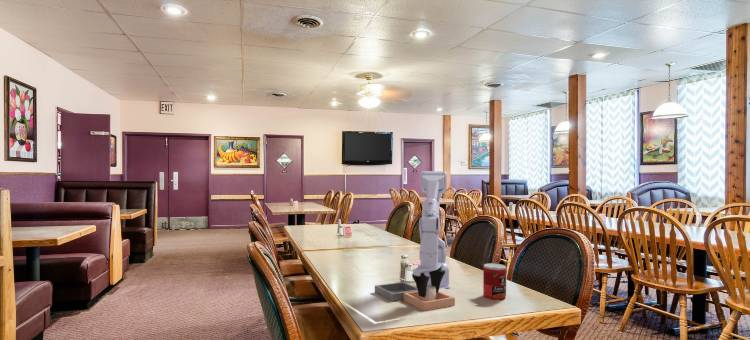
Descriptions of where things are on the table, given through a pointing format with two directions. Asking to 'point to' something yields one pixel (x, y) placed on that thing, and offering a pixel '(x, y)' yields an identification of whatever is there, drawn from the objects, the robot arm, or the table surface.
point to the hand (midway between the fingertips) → (428, 294)
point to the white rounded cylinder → (429, 293)
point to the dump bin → (440, 301)
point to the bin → (394, 290)
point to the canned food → (494, 281)
